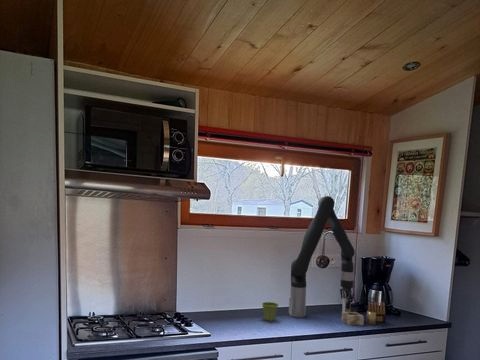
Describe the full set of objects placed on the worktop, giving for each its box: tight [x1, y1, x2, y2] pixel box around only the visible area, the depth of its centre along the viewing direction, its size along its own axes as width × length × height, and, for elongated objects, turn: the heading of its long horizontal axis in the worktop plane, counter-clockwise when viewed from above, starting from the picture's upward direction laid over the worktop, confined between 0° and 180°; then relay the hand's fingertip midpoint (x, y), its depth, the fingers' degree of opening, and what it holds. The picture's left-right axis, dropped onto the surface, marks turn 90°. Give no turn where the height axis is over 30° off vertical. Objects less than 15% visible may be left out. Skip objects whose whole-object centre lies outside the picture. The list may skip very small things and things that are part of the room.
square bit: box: [341, 298, 351, 313], centre depth 225 cm, size 3×3×12 cm
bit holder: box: [341, 311, 365, 326], centre depth 217 cm, size 9×9×5 cm
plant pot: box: [261, 301, 279, 322], centre depth 215 cm, size 9×9×9 cm
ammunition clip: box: [367, 301, 387, 324], centre depth 220 cm, size 11×2×12 cm, turn 95°
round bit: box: [366, 310, 377, 327], centre depth 215 cm, size 5×5×7 cm
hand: (346, 308), depth 225 cm, fingers open, 3 cm apart
